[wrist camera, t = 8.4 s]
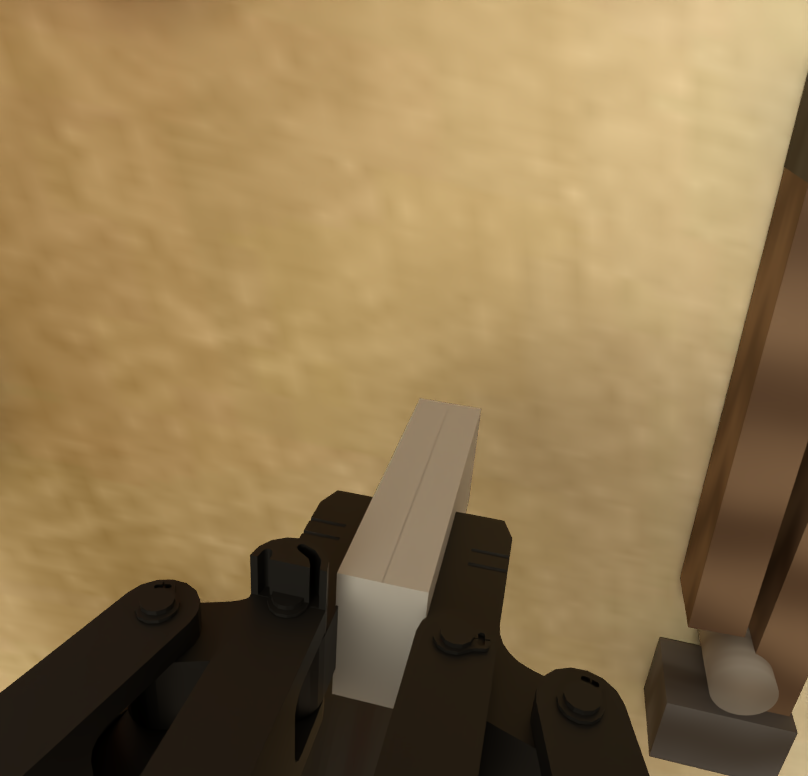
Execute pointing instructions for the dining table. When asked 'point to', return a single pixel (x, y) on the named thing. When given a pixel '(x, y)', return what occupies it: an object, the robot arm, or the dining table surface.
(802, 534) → the base
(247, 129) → the dining table surface
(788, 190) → the bar
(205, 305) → the dining table surface
